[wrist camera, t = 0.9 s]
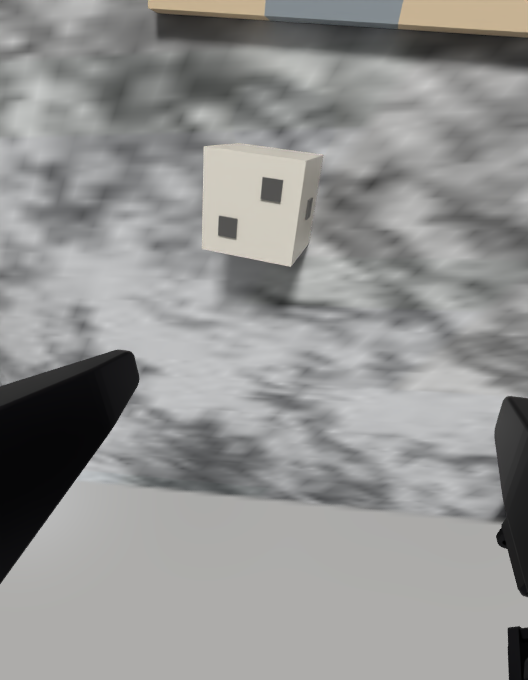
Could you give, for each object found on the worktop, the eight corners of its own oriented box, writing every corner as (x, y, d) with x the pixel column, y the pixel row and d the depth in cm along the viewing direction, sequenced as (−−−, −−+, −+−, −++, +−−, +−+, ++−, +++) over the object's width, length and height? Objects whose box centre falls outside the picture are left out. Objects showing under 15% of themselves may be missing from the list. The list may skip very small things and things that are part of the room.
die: (325, 154, 17) (307, 161, 14) (310, 243, 19) (292, 267, 16) (239, 143, 18) (203, 146, 14) (234, 228, 20) (201, 249, 16)
